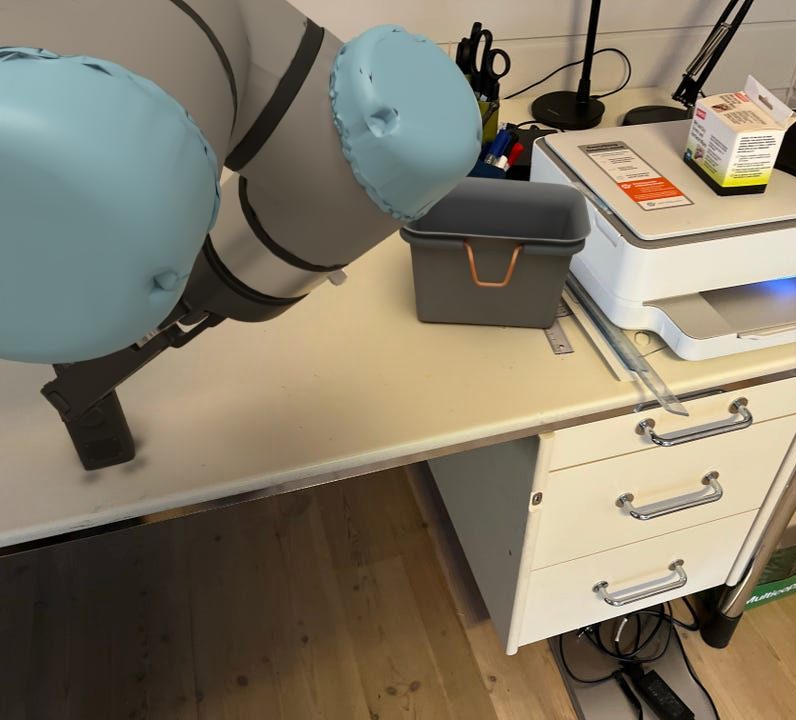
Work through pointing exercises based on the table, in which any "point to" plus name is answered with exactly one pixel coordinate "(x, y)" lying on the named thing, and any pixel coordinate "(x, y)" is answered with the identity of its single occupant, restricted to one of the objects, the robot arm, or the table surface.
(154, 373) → the table surface
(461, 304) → the storage bin
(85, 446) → the walkie-talkie
